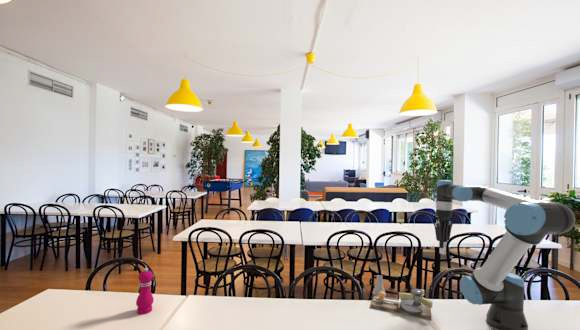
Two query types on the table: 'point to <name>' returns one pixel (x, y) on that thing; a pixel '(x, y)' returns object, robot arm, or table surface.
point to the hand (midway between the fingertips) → (442, 253)
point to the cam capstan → (414, 301)
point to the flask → (378, 286)
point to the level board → (394, 308)
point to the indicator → (382, 296)
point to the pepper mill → (145, 292)
